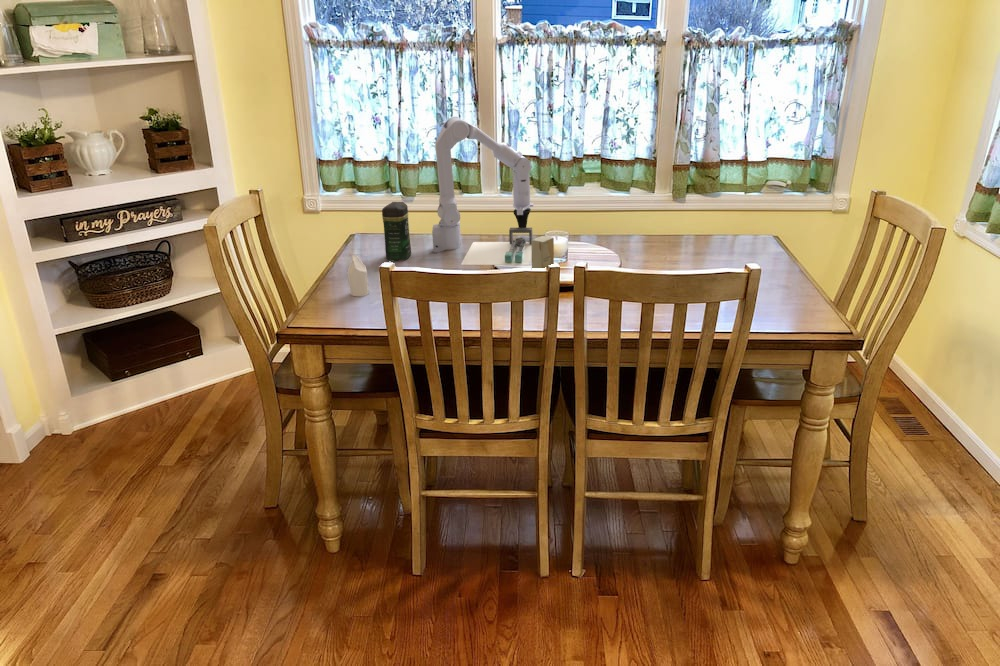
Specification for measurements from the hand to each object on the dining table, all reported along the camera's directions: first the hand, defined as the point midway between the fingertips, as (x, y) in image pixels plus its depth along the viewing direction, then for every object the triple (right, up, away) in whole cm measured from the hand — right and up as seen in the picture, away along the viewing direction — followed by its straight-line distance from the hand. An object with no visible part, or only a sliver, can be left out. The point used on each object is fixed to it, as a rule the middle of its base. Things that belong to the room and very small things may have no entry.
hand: (522, 229), depth 276 cm
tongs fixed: (-2, -10, -15) cm, 18 cm away
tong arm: (-4, -10, -16) cm, 19 cm away
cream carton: (-50, -24, -41) cm, 69 cm away
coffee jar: (-42, -11, -10) cm, 44 cm away
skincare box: (+5, -19, -34) cm, 39 cm away
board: (-8, -10, -13) cm, 18 cm away
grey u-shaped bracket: (-1, -5, -4) cm, 7 cm away
